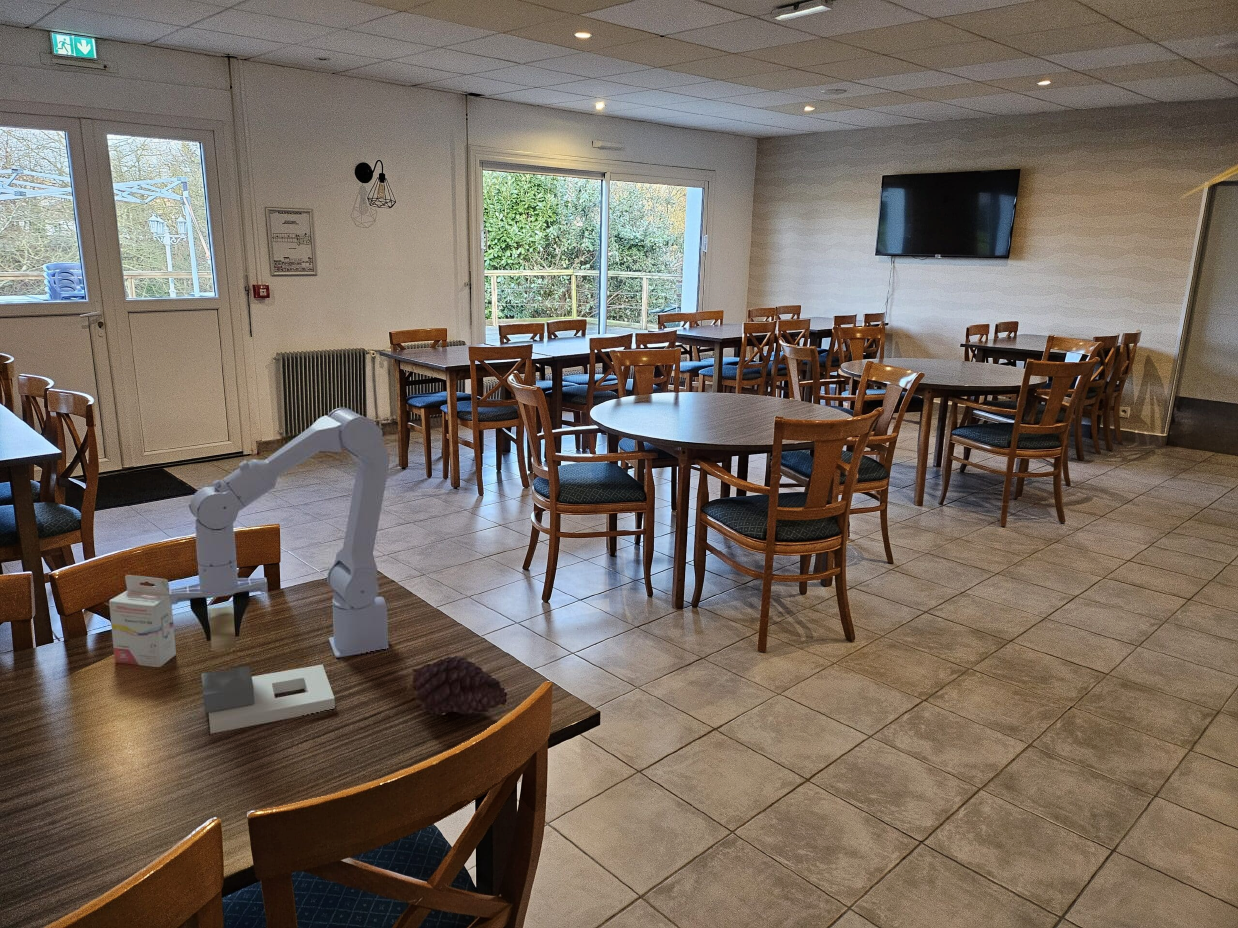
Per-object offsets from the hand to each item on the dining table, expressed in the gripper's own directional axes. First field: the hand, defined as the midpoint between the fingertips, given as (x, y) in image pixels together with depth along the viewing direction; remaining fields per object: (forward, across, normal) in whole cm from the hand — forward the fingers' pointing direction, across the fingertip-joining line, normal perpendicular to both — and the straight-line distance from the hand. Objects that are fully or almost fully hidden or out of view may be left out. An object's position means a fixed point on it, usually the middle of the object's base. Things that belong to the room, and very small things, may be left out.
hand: (222, 636), depth 140 cm
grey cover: (+6, 0, +11) cm, 12 cm away
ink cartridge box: (+8, +12, -12) cm, 19 cm away
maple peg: (+2, 0, 0) cm, 2 cm away
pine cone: (+8, -32, +26) cm, 42 cm away
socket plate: (+8, -6, +11) cm, 15 cm away
